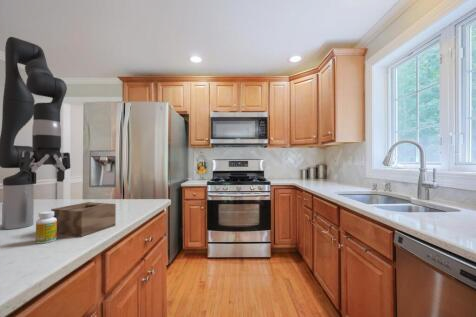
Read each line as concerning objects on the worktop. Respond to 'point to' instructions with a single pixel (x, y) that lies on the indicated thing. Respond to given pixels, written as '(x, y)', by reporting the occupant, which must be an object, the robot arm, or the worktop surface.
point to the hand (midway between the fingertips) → (47, 182)
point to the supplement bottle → (46, 227)
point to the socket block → (84, 218)
